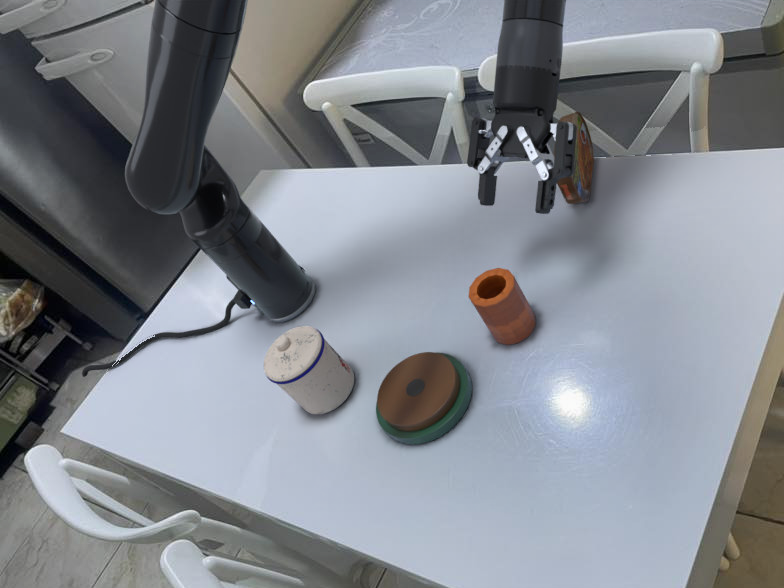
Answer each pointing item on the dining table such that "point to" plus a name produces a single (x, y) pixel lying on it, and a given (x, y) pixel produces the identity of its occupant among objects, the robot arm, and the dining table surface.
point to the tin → (579, 163)
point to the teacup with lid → (309, 370)
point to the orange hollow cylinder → (502, 306)
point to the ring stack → (423, 397)
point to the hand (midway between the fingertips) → (514, 209)
